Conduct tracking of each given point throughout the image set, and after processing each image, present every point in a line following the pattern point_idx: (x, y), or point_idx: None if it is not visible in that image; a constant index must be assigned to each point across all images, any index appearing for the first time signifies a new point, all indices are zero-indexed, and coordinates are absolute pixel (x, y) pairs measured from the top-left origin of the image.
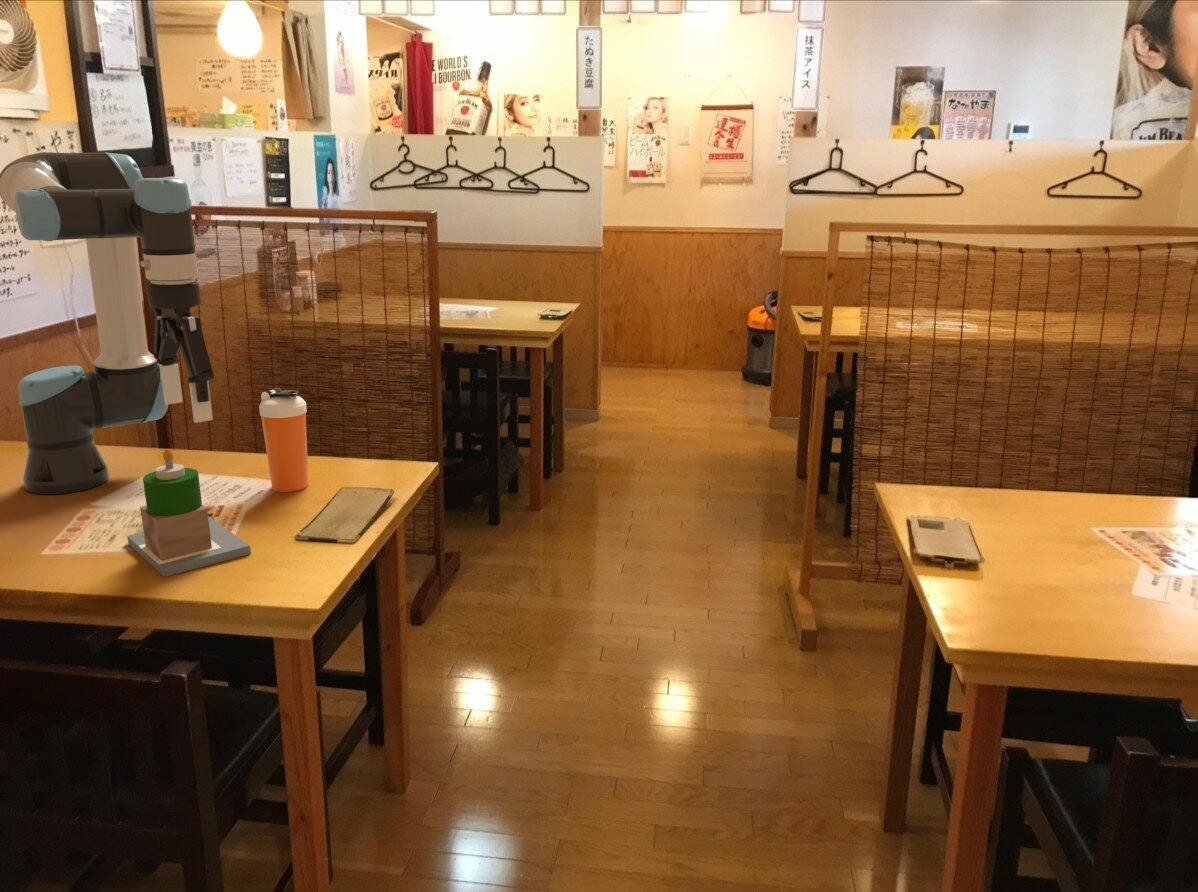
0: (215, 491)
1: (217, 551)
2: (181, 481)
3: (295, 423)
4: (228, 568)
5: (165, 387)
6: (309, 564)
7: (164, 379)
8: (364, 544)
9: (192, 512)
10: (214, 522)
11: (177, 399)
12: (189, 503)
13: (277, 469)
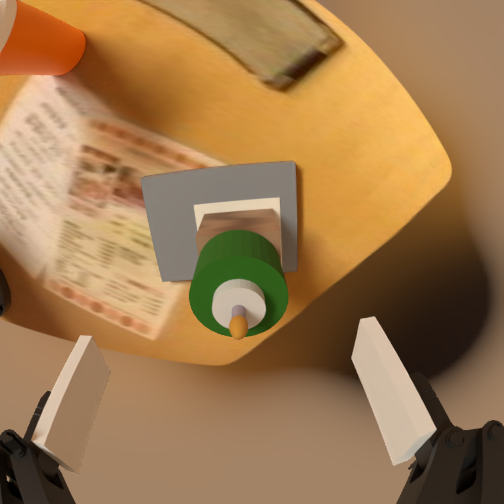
0: (34, 148)
1: (287, 205)
2: (287, 293)
3: (24, 13)
4: (320, 200)
5: (93, 410)
6: (373, 118)
7: (86, 432)
8: (355, 36)
9: (280, 252)
10: (169, 177)
11: (94, 355)
12: (280, 262)
13: (56, 62)
